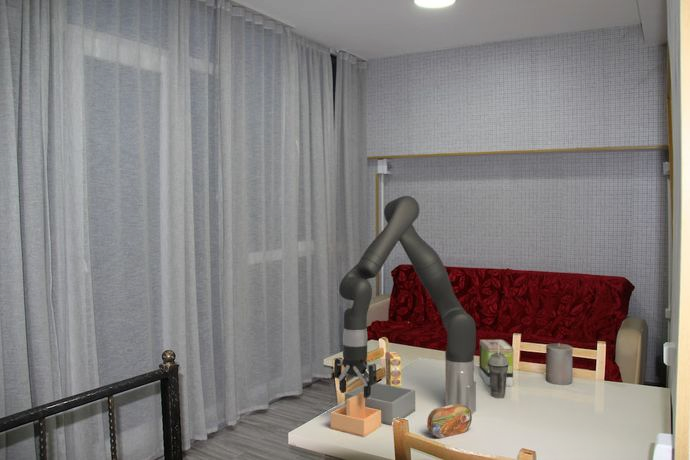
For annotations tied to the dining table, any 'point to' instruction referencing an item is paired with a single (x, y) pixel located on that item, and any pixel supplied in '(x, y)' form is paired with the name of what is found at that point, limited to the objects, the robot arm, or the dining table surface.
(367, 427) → the small basket
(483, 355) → the tea box
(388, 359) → the candy box
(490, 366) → the beverage cup
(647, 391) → the dining table surface
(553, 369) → the pillar candle
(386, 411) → the large crate
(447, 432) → the tin
